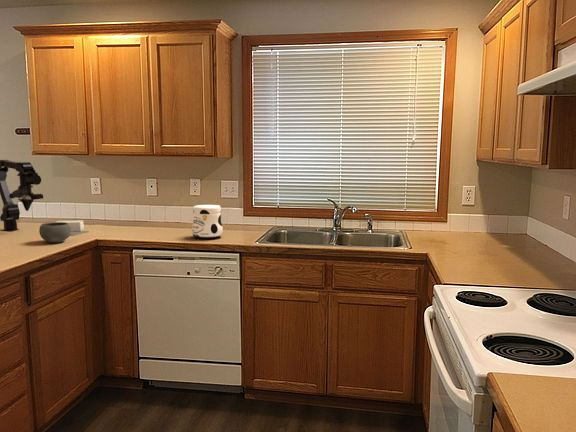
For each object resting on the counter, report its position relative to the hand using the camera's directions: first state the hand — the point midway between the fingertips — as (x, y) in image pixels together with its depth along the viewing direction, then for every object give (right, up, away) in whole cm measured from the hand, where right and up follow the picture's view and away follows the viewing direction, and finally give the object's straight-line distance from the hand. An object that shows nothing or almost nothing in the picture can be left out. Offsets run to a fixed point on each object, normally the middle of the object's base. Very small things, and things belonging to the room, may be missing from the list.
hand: (27, 210), depth 288 cm
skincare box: (+14, -9, +7) cm, 18 cm away
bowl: (+28, -17, -25) cm, 42 cm away
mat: (+23, -13, +4) cm, 27 cm away
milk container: (+106, -16, -5) cm, 107 cm away
